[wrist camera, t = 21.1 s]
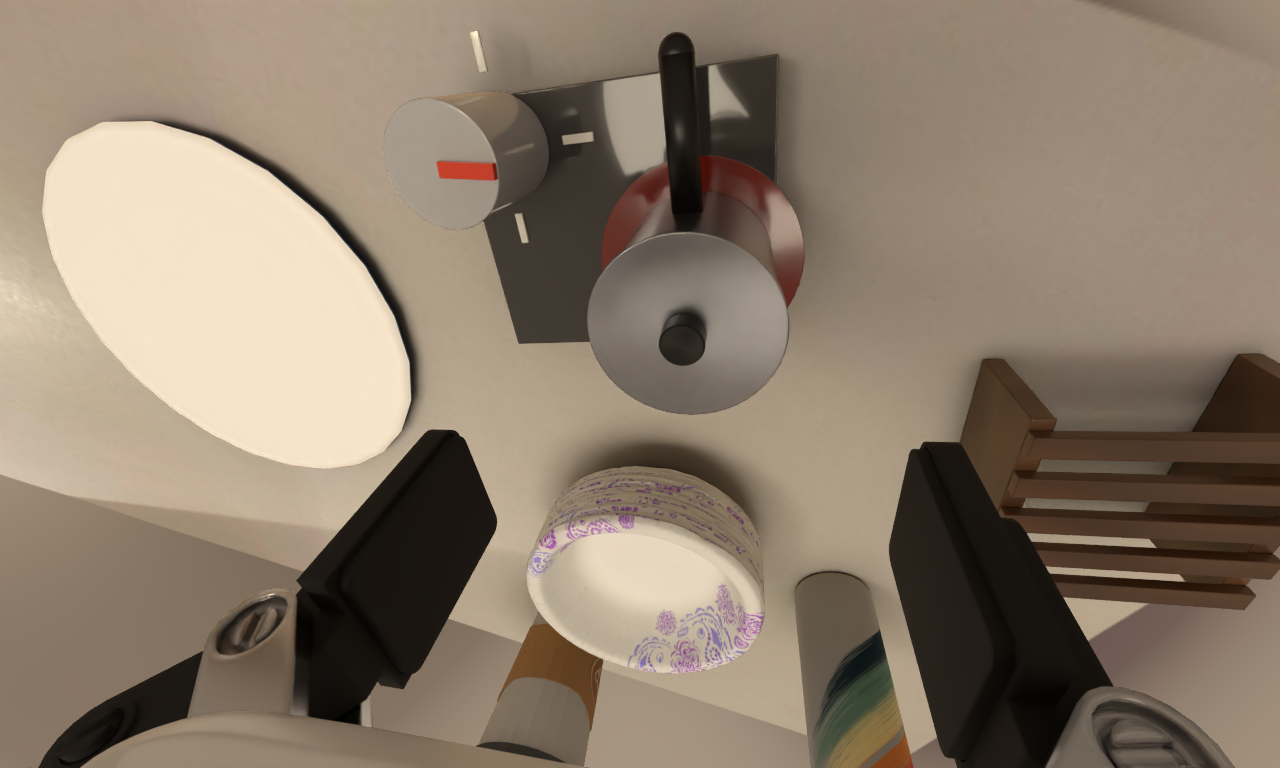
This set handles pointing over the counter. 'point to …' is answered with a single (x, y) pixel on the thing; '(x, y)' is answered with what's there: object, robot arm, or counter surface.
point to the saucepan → (689, 281)
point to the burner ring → (727, 181)
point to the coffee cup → (546, 699)
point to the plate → (227, 294)
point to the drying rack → (1143, 489)
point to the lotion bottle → (846, 677)
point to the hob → (611, 178)
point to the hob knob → (464, 156)
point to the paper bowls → (650, 571)
